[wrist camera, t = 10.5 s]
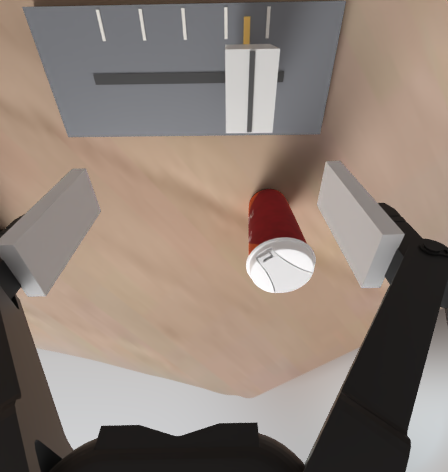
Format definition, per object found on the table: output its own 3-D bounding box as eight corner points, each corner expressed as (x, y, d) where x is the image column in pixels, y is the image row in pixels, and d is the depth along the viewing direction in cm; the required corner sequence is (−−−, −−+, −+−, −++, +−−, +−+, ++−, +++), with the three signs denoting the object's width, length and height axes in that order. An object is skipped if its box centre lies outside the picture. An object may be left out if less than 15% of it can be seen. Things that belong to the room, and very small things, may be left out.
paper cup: (231, 202, 41) (232, 270, 30) (274, 171, 38) (293, 232, 26) (262, 234, 44) (274, 305, 33) (304, 208, 41) (332, 276, 30)
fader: (226, 109, 30) (225, 133, 24) (225, 43, 27) (224, 49, 20) (262, 108, 30) (272, 133, 24) (266, 42, 27) (280, 48, 20)
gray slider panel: (75, 131, 35) (68, 137, 33) (34, 8, 27) (21, 6, 26) (315, 129, 34) (320, 134, 32) (339, 2, 27) (346, 0, 25)
